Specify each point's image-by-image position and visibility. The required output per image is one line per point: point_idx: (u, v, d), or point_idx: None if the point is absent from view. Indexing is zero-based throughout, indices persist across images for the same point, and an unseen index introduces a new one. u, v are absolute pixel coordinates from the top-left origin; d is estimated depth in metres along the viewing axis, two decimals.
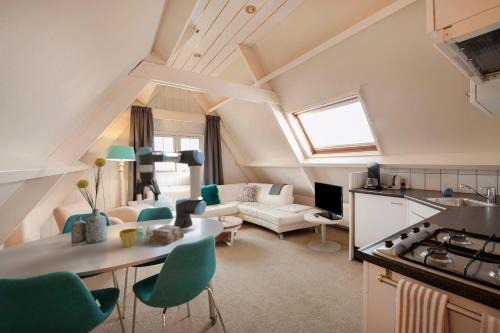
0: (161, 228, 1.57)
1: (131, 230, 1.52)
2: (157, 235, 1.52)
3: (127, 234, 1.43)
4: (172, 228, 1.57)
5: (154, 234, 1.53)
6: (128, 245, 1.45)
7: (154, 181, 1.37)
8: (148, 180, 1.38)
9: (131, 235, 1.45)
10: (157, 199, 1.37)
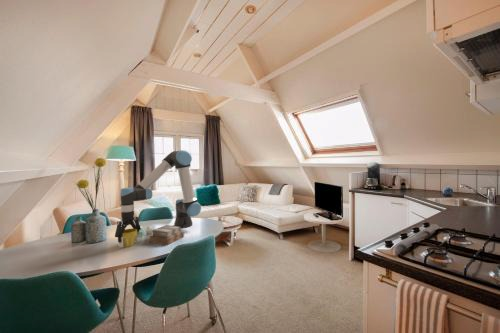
0: (161, 228, 1.57)
1: (131, 230, 1.52)
2: (157, 235, 1.52)
3: (127, 234, 1.43)
4: (172, 228, 1.57)
5: (154, 234, 1.53)
6: (128, 245, 1.45)
7: (118, 223, 1.42)
8: None
9: (131, 235, 1.45)
10: (119, 241, 1.42)
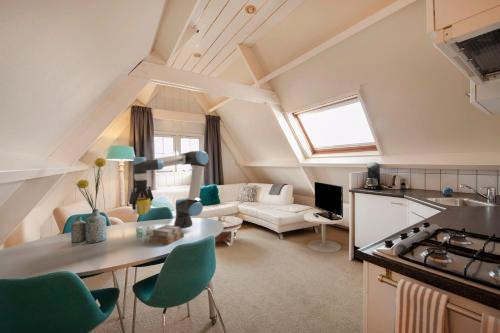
0: (161, 228, 1.57)
1: (144, 199, 1.55)
2: (157, 235, 1.52)
3: (141, 201, 1.46)
4: (172, 228, 1.57)
5: (154, 234, 1.53)
6: (142, 213, 1.48)
7: (132, 190, 1.45)
8: None
9: (145, 203, 1.48)
10: (133, 208, 1.45)
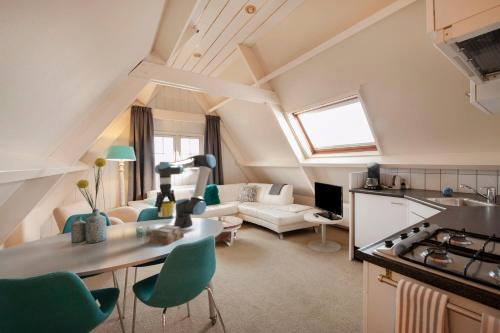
0: (161, 228, 1.57)
1: (167, 202, 1.61)
2: (157, 235, 1.52)
3: (166, 204, 1.52)
4: (172, 228, 1.57)
5: (154, 234, 1.53)
6: (166, 215, 1.54)
7: (157, 194, 1.50)
8: None
9: (169, 206, 1.53)
10: (158, 211, 1.50)
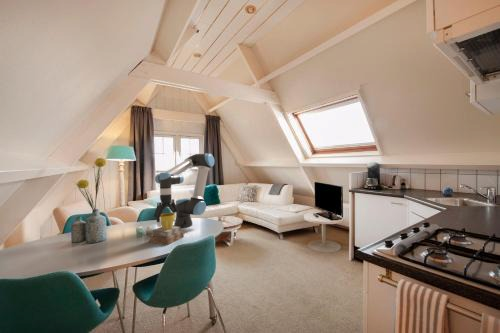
0: (161, 228, 1.57)
1: (168, 214, 1.62)
2: (157, 235, 1.52)
3: (167, 217, 1.53)
4: (172, 228, 1.57)
5: (154, 234, 1.53)
6: (167, 228, 1.55)
7: (158, 204, 1.50)
8: None
9: (170, 218, 1.54)
10: (157, 221, 1.49)
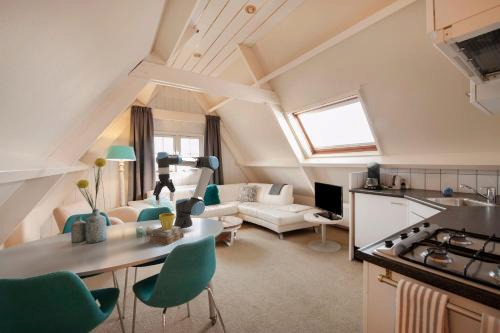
0: (161, 228, 1.57)
1: (168, 214, 1.62)
2: (157, 235, 1.52)
3: (167, 217, 1.53)
4: (172, 228, 1.57)
5: (154, 234, 1.53)
6: (167, 228, 1.55)
7: (156, 183, 1.53)
8: None
9: (170, 218, 1.54)
10: (156, 199, 1.52)
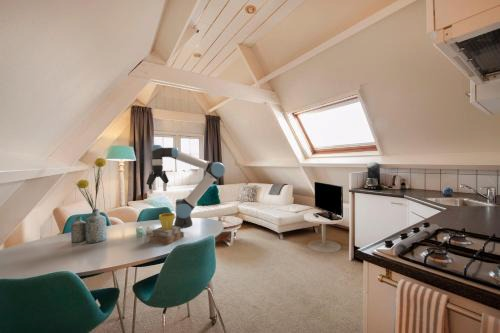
0: (161, 228, 1.57)
1: (168, 214, 1.62)
2: (157, 235, 1.52)
3: (167, 217, 1.53)
4: (172, 228, 1.57)
5: (154, 234, 1.53)
6: (167, 228, 1.55)
7: (150, 173, 1.66)
8: None
9: (170, 218, 1.54)
10: (149, 188, 1.64)
